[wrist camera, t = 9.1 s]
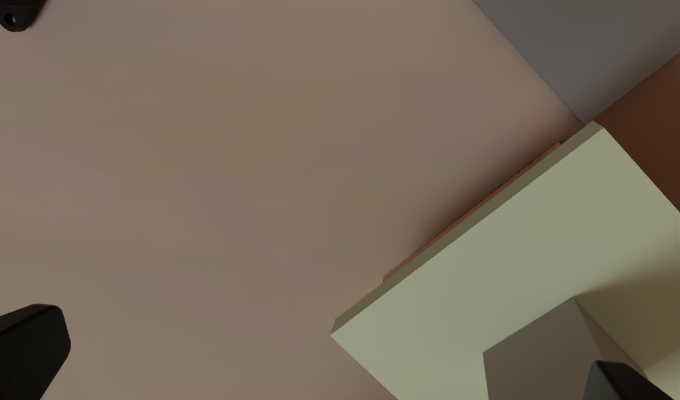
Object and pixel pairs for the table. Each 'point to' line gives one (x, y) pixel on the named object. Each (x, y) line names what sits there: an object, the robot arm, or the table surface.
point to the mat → (590, 44)
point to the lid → (534, 288)
